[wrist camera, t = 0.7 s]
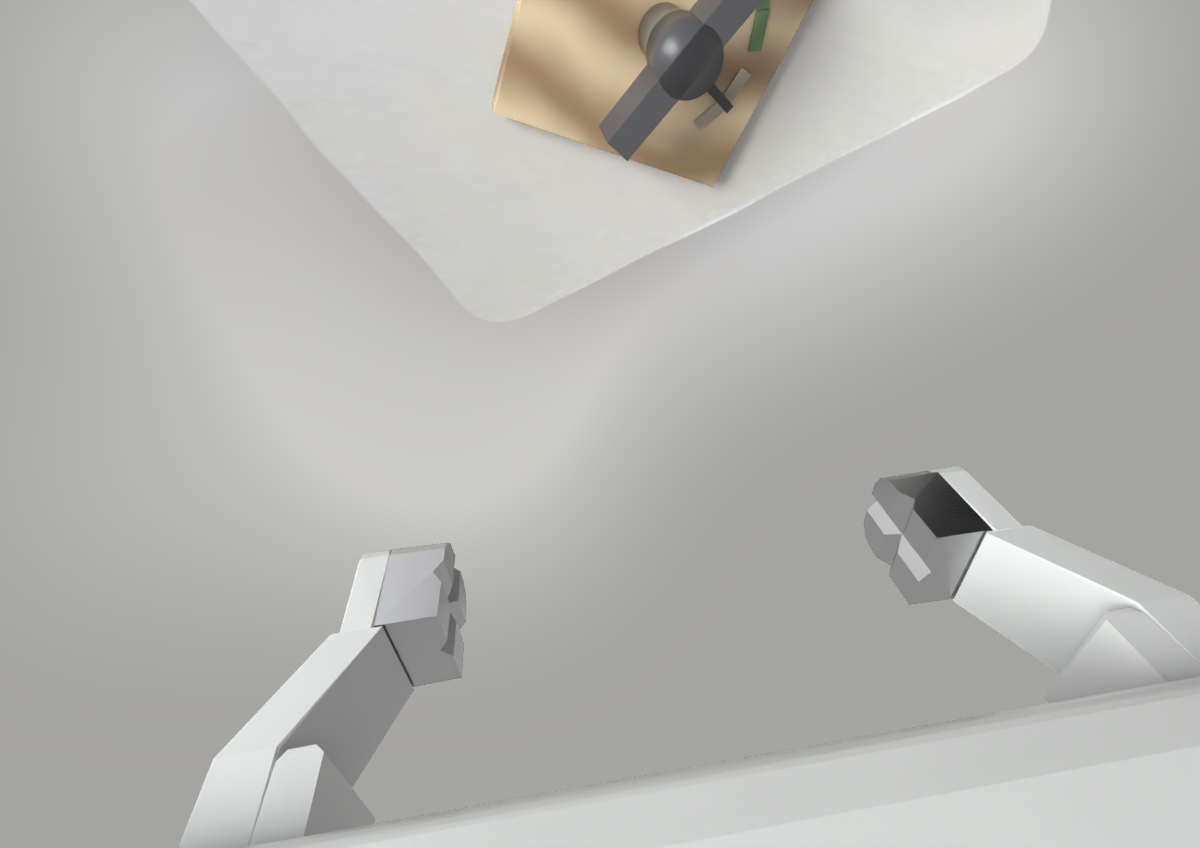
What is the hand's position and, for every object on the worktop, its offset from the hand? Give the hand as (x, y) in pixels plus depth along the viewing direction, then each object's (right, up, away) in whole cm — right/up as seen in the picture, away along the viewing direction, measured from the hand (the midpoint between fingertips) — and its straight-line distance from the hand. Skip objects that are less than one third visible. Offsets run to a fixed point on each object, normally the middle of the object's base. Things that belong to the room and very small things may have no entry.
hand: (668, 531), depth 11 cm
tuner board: (+3, +32, +31) cm, 45 cm away
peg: (+5, +29, +32) cm, 43 cm away
